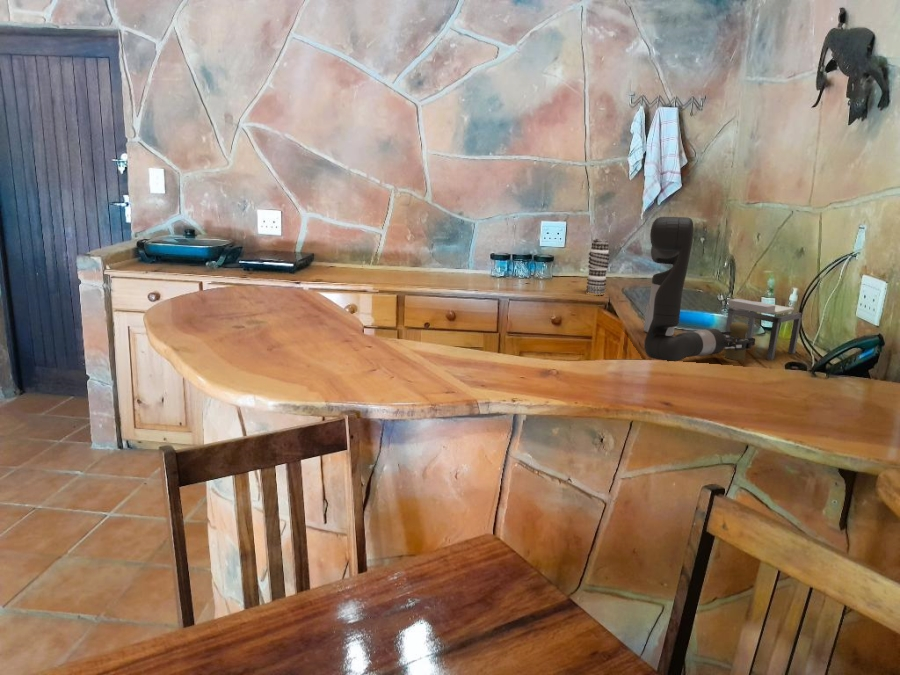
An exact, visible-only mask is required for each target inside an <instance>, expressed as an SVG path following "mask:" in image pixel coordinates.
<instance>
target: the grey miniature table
mask: <svg viewBox="0 0 900 675" xmlns="http://www.w3.org/2000/svg"><path fill="white" fill-rule="evenodd" d="M736 316H738V317H745V318H748V323H747V325H748V327H749V329H748V332H747V333H746V338H754V331H755V326H756V325H755V324H756V320H759V321H765V322H769V323H771V331H770V336H769V342H768V348H767V355H766V360H768V361H773V360H775V354H776V349H777V343H778V338H779V337H778V336H779V330H780V325H781V323H785V322H789V321H793V323H792V328H791V333H790V339H789V346H788V351H787V353H788V354H791V355H794V354H796V351H797V350H796V349H797V344H798V339H799V334H800V327H801V322H802V318H803V312H793V313H788V314H783V315H779V316H775V315H773V316H772V315H769V314H764V313H759V312H755V311H750V310H744V309H739V308H734V307H729V308H728V314H727V317H726V318H727V319H726V325H725V331H730V325H731V323H733V322H735V317H736ZM730 332H731V331H730ZM723 350H726V349H725V348H724V349H723Z"/></svg>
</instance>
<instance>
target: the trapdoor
mask: <svg viewBox="0 0 900 675" xmlns="http://www.w3.org/2000/svg"><path fill="white" fill-rule="evenodd" d="M727 307H729V308H739V309H744V310H750V311H755V312H757V313H759V314H764V315H770V316H772V315H773V316H775V315H780V314H785V313H791V312H794V311H795V308H794V307H789V306H783V305H779V304H778V305H777V304H772V303H766V302H761V301H754V300H753V301H752V300H746V299H741V298H734V299H729V300H728V304H727ZM750 311H749V312H750Z"/></svg>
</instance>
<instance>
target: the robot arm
mask: <svg viewBox="0 0 900 675" xmlns="http://www.w3.org/2000/svg"><path fill="white" fill-rule="evenodd" d="M649 235H650V236H649V237H650V239H649V240H650V244H651V246H650V256H651V259H652V261H653V262H654V263H656V264H662V265H672V267H670V268H669V269H667V270H666V271H662V272H658V273H655V274H653V275H652V278H651V287H650V294H649V303H647V304H646V308H645V315H644V316H645V317H644V323H643V324H644V325H643V332H646V336H645V340H644V352H645V354H646V355H647V356H648V357H649V358H651V359H653V360H654V359H655V360H660V361H664V360H667V361H666V362H669V361H674V362H679V361H682V360H684V359H686V358H690V357H705V356H710V355H711V356H712V355H718V354H720V353H721V352H723V350H726V349H728V348H735V349H734V350H736V351H737V350H745V351H746V350H751V349H752V346H754V345H755V344H756V338H754V337H753V338H745V339H744V338H739V337H738V336H730V334H731V332H730V331H726V330H725V331H720V330H719V329H718V328H708V329H700V330H698V329H697V330H694V331H687V332H681V333H678V334H676V335H675V336H674V334H675V328H676V326H678V325H679V324H680V318H681V316H680V314H681V306H682V305H681V304H682V296H683V290H684V285H685V280H686V276H687V273H688V272H687V271H688V267H689V262H690V256H691V252H692V247H693V239H694V221H693V219H692V218H691V217H687V216H686V217H685V216H659V217H657V218H655V220H653V222H652V225H651V227H650V234H649ZM734 339H736V342H735V343H733V341H734ZM724 348H725V349H724Z"/></svg>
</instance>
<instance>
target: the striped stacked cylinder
mask: <svg viewBox="0 0 900 675" xmlns="http://www.w3.org/2000/svg"><path fill="white" fill-rule="evenodd" d="M590 242H591V246H590V251H589V253H588V259H589V260H588V275H587V282H586V284H587V285H586V286H585V287H586V289H585V291H586V293H587V292H589V293H594V294H601V293H604V294H605V293H606V289H607V288H606V285H607V283H606V282H607V271H608V267H609V266H608V265H609V262H608V261H610V258H609V257H610V254H609V251H610V250H609V247H610V246H609V245H610V242H609V241H608V239H605V238H595V239H593V240H592V241H590Z"/></svg>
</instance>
